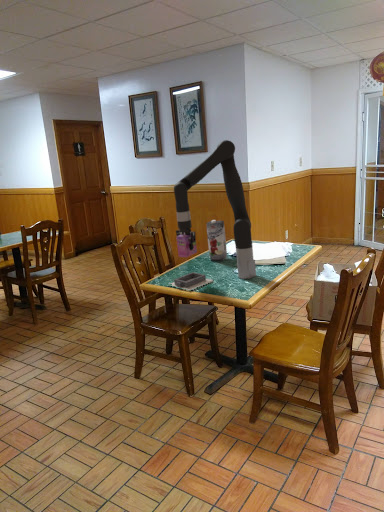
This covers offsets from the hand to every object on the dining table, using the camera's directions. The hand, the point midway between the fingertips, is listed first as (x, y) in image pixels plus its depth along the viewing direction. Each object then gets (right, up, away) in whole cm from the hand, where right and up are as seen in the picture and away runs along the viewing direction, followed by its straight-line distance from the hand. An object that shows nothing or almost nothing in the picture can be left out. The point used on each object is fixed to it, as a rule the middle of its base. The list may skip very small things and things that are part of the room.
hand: (187, 249), depth 219 cm
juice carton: (+20, -6, +43) cm, 48 cm away
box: (0, -3, +1) cm, 3 cm away
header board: (+2, -20, +3) cm, 20 cm away
